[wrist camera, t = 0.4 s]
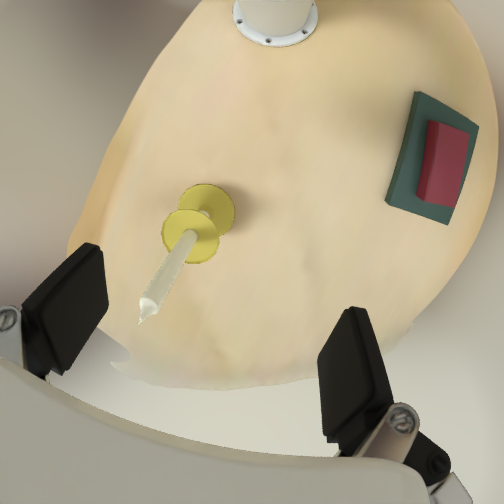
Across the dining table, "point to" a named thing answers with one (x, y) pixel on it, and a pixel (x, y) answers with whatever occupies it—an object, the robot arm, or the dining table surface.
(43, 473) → the robot arm
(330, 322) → the dining table surface
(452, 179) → the burgundy book
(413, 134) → the green book
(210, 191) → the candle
